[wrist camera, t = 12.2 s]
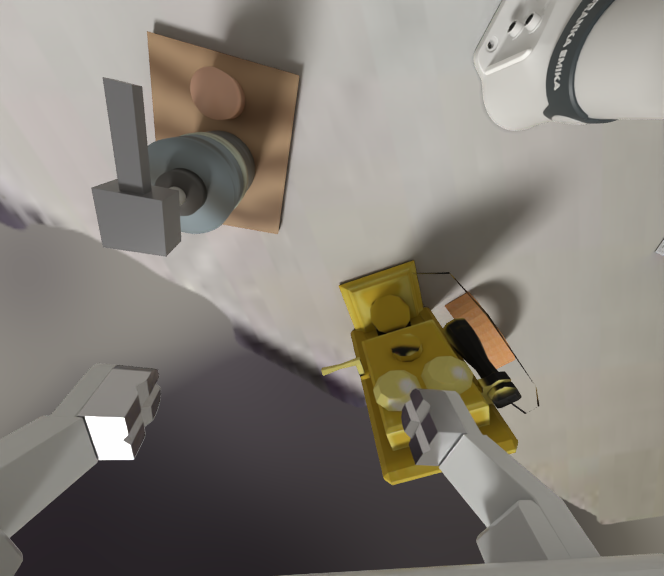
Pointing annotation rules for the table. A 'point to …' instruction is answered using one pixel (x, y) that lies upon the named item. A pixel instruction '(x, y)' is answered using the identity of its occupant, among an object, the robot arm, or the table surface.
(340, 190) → the table surface
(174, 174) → the stand
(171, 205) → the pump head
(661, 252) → the ink cartridge box
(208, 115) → the pink egg shape
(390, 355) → the vintage telephone
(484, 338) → the arch
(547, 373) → the table surface
